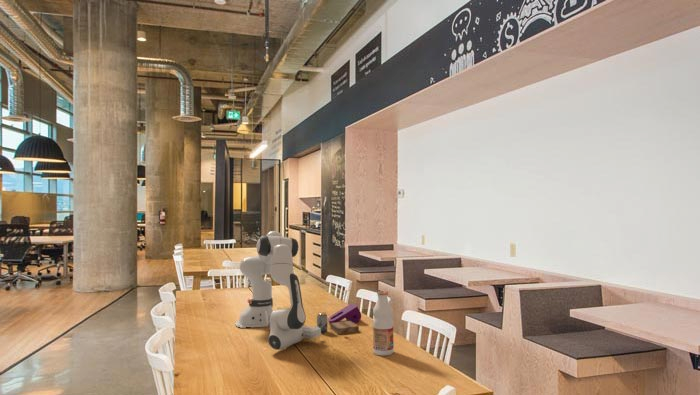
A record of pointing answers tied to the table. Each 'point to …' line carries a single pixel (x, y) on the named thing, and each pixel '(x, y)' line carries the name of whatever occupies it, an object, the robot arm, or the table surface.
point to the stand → (344, 327)
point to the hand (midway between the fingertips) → (310, 326)
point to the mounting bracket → (346, 314)
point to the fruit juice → (383, 326)
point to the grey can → (322, 321)
